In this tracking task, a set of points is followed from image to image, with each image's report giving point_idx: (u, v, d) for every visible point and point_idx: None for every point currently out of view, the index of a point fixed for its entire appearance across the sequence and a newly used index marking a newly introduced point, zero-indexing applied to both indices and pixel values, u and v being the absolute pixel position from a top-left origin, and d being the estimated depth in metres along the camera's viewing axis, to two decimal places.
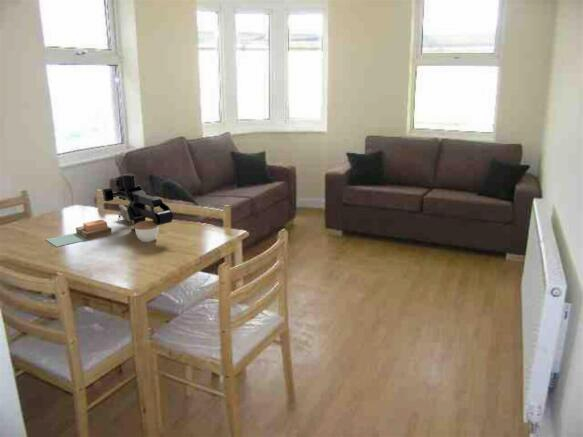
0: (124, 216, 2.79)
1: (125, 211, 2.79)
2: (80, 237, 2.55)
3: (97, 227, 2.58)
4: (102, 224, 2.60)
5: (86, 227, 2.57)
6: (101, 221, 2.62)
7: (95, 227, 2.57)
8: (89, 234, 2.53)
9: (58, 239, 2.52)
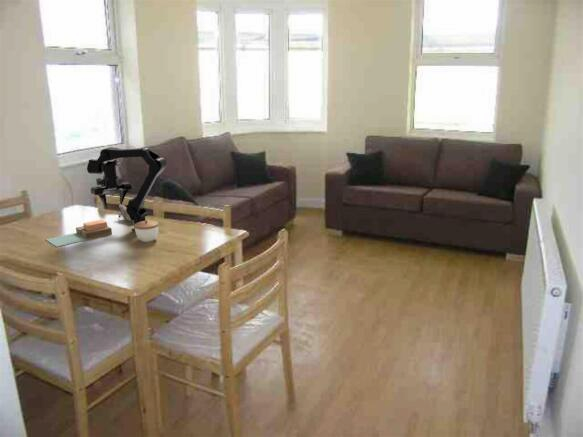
0: (124, 216, 2.79)
1: (125, 211, 2.79)
2: (80, 237, 2.55)
3: (97, 227, 2.58)
4: (102, 224, 2.60)
5: (86, 227, 2.57)
6: (101, 221, 2.62)
7: (95, 227, 2.57)
8: (89, 234, 2.53)
9: (58, 239, 2.52)
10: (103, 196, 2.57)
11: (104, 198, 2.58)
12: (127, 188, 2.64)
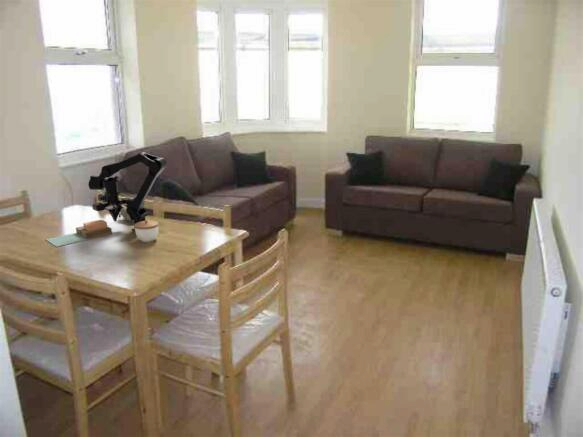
0: (125, 216, 2.80)
1: (126, 211, 2.80)
2: (80, 237, 2.55)
3: (97, 227, 2.58)
4: (102, 224, 2.60)
5: (86, 227, 2.57)
6: (101, 221, 2.62)
7: (95, 227, 2.57)
8: (89, 234, 2.53)
9: (58, 239, 2.52)
10: (112, 211, 2.62)
11: (113, 212, 2.63)
12: None
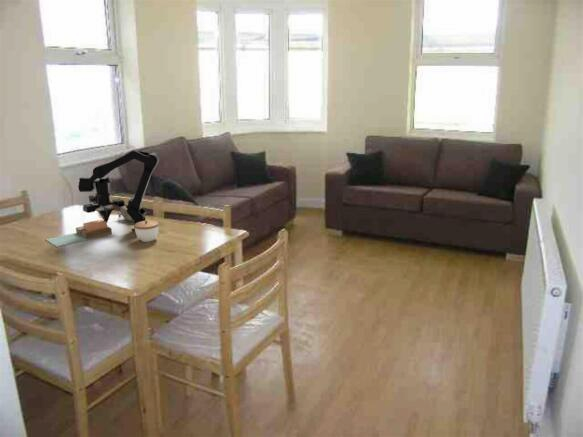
0: (125, 215, 2.80)
1: (126, 210, 2.80)
2: (80, 237, 2.55)
3: (97, 227, 2.58)
4: (102, 224, 2.60)
5: (86, 227, 2.57)
6: (101, 221, 2.62)
7: (95, 227, 2.57)
8: (89, 234, 2.53)
9: (58, 239, 2.52)
10: (103, 212, 2.59)
11: (104, 214, 2.60)
12: (120, 205, 2.64)
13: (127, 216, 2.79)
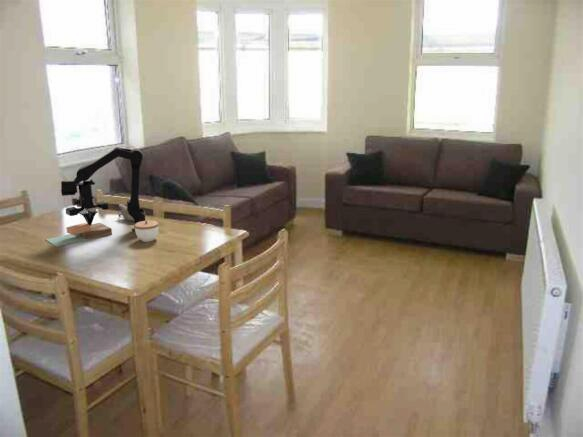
0: (125, 215, 2.80)
1: (126, 210, 2.80)
2: (80, 237, 2.55)
3: (81, 231, 2.53)
4: (86, 227, 2.54)
5: (69, 231, 2.52)
6: (85, 224, 2.56)
7: (79, 231, 2.52)
8: (89, 234, 2.53)
9: (58, 239, 2.52)
10: (86, 215, 2.54)
11: (87, 217, 2.55)
12: (103, 208, 2.58)
13: (127, 216, 2.80)
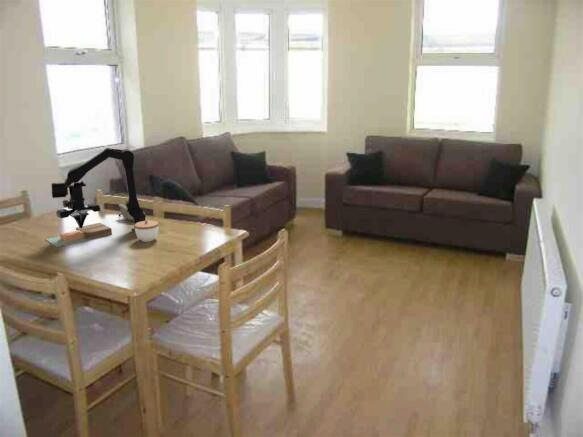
0: (126, 215, 2.81)
1: (126, 210, 2.81)
2: None
3: (74, 238, 2.51)
4: (79, 235, 2.53)
5: (62, 238, 2.50)
6: (78, 232, 2.55)
7: (72, 238, 2.50)
8: (89, 234, 2.53)
9: (58, 239, 2.52)
10: (77, 217, 2.51)
11: (78, 219, 2.52)
12: (95, 210, 2.56)
13: (128, 216, 2.80)
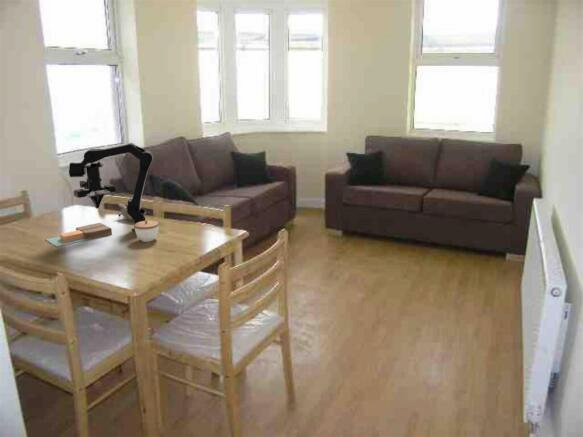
0: (126, 215, 2.81)
1: None
2: None
3: (74, 238, 2.51)
4: (79, 235, 2.53)
5: (62, 238, 2.50)
6: (78, 232, 2.55)
7: (72, 238, 2.50)
8: (89, 234, 2.53)
9: (58, 239, 2.52)
10: (94, 197, 2.55)
11: (95, 199, 2.56)
12: (111, 190, 2.60)
13: (128, 215, 2.80)
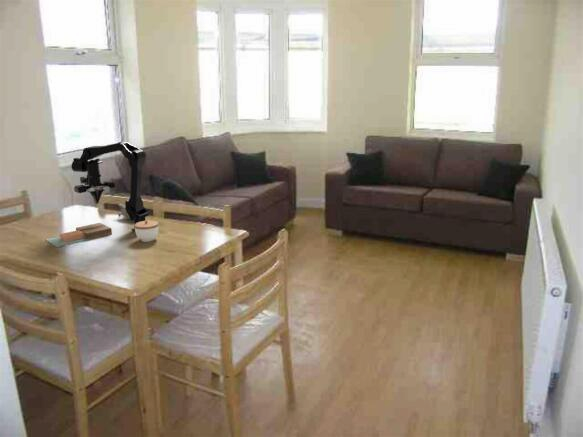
0: (126, 215, 2.81)
1: None
2: None
3: (74, 238, 2.51)
4: (79, 235, 2.53)
5: (62, 238, 2.50)
6: (78, 232, 2.55)
7: (72, 238, 2.50)
8: (89, 234, 2.53)
9: (58, 239, 2.52)
10: (94, 193, 2.64)
11: (95, 195, 2.65)
12: (110, 186, 2.69)
13: (128, 215, 2.81)
